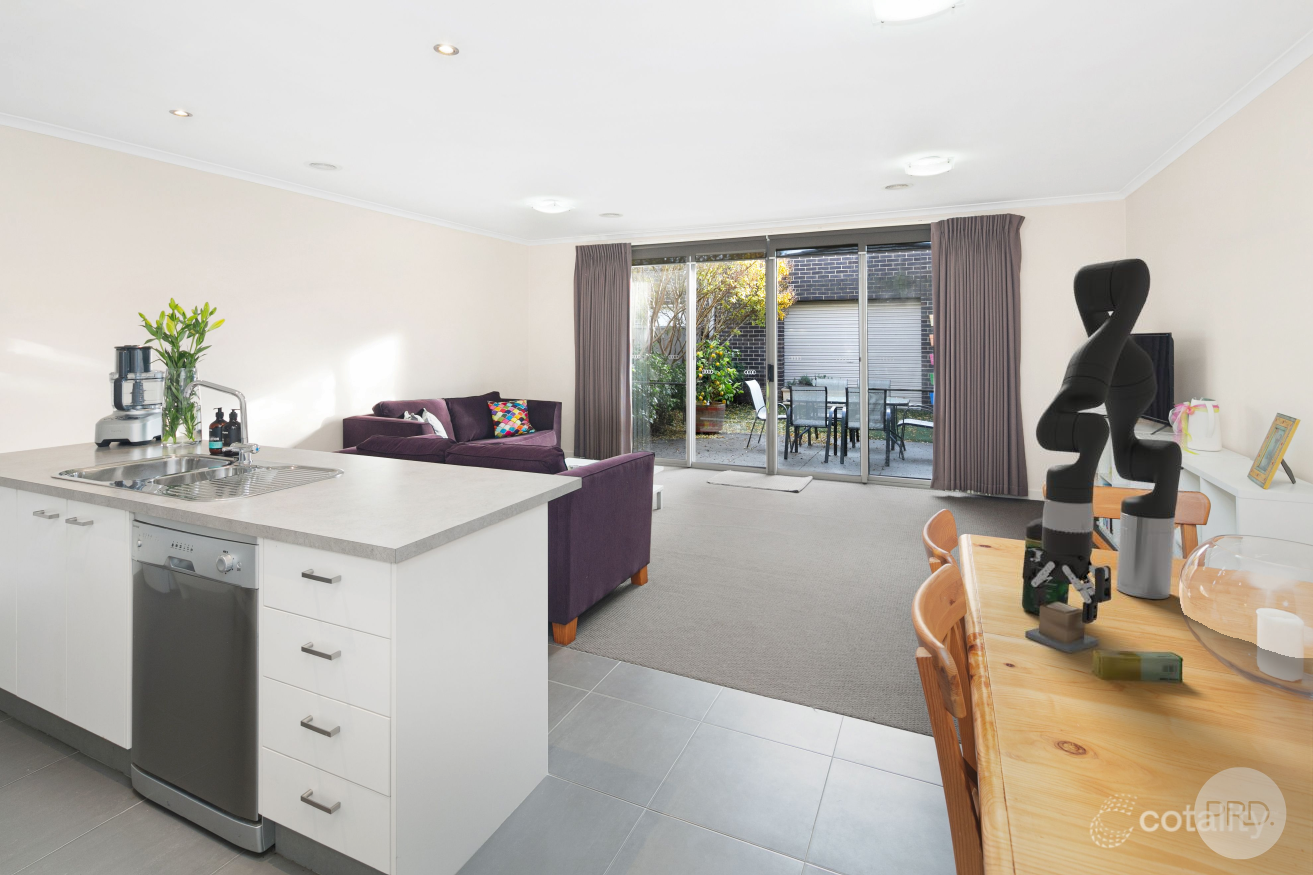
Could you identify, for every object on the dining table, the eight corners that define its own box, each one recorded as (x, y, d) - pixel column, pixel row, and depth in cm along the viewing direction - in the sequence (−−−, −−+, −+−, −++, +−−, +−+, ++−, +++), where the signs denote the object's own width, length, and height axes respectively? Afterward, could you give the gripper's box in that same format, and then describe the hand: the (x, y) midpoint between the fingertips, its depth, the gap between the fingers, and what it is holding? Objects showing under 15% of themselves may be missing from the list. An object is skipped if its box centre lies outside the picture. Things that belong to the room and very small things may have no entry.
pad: (1053, 628, 120) (1053, 623, 120) (1098, 644, 113) (1098, 639, 113) (1025, 636, 117) (1025, 631, 117) (1069, 653, 109) (1069, 647, 109)
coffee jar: (1065, 621, 124) (1070, 526, 122) (1018, 612, 128) (1022, 521, 127) (1070, 606, 131) (1075, 517, 129) (1026, 598, 136) (1030, 512, 134)
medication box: (1172, 675, 102) (1173, 651, 101) (1184, 683, 99) (1185, 658, 99) (1091, 672, 103) (1091, 648, 103) (1100, 680, 100) (1101, 655, 100)
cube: (1056, 627, 118) (1057, 600, 117) (1084, 637, 113) (1085, 609, 113) (1038, 632, 116) (1040, 604, 115) (1066, 642, 111) (1067, 614, 111)
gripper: (1124, 531, 108) (1118, 624, 110) (1042, 514, 121) (1038, 598, 122) (1096, 537, 105) (1091, 632, 106) (1015, 519, 117) (1012, 604, 119)
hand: (1063, 614), depth 114 cm, fingers open, 8 cm apart
